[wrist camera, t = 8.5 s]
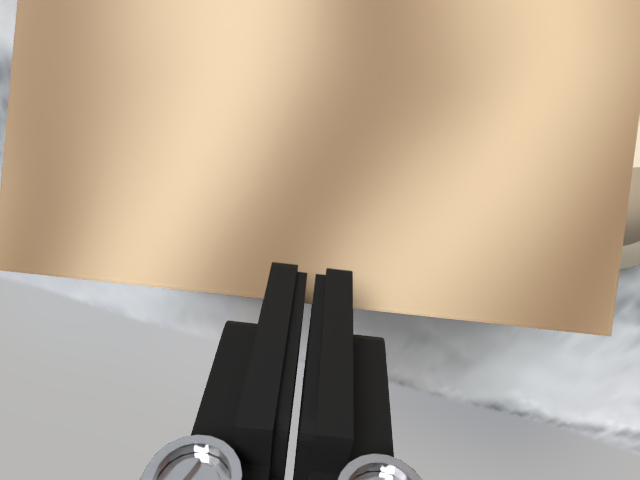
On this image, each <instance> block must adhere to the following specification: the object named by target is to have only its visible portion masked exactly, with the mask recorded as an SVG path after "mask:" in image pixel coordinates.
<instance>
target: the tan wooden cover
mask: <svg viewBox="0 0 640 480" xmlns="http://www.w3.org/2000/svg"><path fill="white" fill-rule="evenodd" d="M639 115H640V0H18V2H17V13H16V24H15V35H14V46H13V57H12V68H11V79H10V90H9V101H8V112H7V123H6V134H5V145H4V156H3V167H2V178H1V189H0V270H2V271H11V272H21V273H30V274H39V275H48V276H58V277H67V278H76V279H85V280H95V281H104V282H113V283H122V284H132V285H141V286H150V287H159V288H169V289H178V290H187V291H196V292H206V293H215V294H224V295H233V296H243V297H252V298H261V299H264V295H265V291H266V286H267V282H268V277H269V273H270V269H271V265H272V262H277V263H286V264H295V265H298V272H304V273H307V282H306V291H305V301H304V303H307V304H312V301H313V293H314V284H315V276H316V274H322V275H326V269H327V268H331V269H340V270H349V271H352V272H353V308H354V309H363V310H372V311H381V312H391V313H400V314H409V315H419V316H428V317H437V318H446V319H456V320H465V321H474V322H483V323H493V324H502V325H511V326H520V327H530V328H539V329H548V330H557V331H567V332H576V333H585V334H594V335H604V336H611V333H612V325H613V317H614V310H615V302H616V294H617V286H618V279H619V271H620V263H621V255H622V247H623V240H624V232H625V224H626V216H627V209H628V201H629V193H630V185H631V177H632V170H633V162H634V154H635V146H636V139H637V131H638V123H639Z"/></svg>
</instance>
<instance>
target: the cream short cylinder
mask: <svg viewBox="0 0 640 480" xmlns="http://www.w3.org/2000/svg"><path fill="white" fill-rule="evenodd" d="M637 265H640V115H639V123H638V131H637V139H636V146H635V154H634V162H633V170H632V177H631V185H630V193H629V201H628V209H627V216H626V224H625V232H624V240H623V247H622V255H621V263H620V270H622V269H626V268H631V267H634V266H637Z"/></svg>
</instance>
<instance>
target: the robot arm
mask: <svg viewBox="0 0 640 480" xmlns="http://www.w3.org/2000/svg"><path fill="white" fill-rule="evenodd" d="M306 282H307V273H304V272H298V265H295V264H286V263H277V262H272V265H271V269H270V273H269V277H268V282H267V286H266V291H265V295H264V300H263V304H262V308H261V313H260V317H259V322H258V324H253V323H244V322H235V321H227V322H226V324H225V326H224V329H223V332H222V336H221V339H220V342H219V346H218V349H217V352H216V355H215V359H214V362H213V365H212V369H211V372H210V375H209V378H208V381H207V385H206V388H205V391H204V395H203V398H202V401H201V405H200V408H199V411H198V414H197V417H196V421H195V424H194V427H193V430H192V434H191V436H186V437H182V438H179V439H177V440H175V441H173V442H170V443H168V444H167V445H166V446H165V447H163V448H162V449H161V450H160V451H158V452H157V453H156V454H155V455H154V457H153V458H152V460H151V461H150V462H149V464H148V465H147V467H146V469H145V470H144V472H143V474H142V476H141V478H140V480H284V476H285V468H286V459H287V451H288V442H289V434H290V425H291V417H292V409H293V399H294V391H295V383H296V374H297V366H298V356H299V347H300V338H301V329H302V319H303V310H304V301H305V291H306ZM293 480H422V479H421V478H420V476H419V475H418V474H417V473H416V471H415V470H414V469H413V468H411V467H410V466H408V465H407V464H406V463H404V462H403V461H401V460H399V459H396V458H394V453H393V440H392V428H391V415H390V403H389V390H388V377H387V364H386V352H385V342H384V339H383V338H380V337H371V336H362V335H353V272H352V271H349V270H340V269H331V268H327V269H326V275H322V274H316V276H315V284H314V293H313V301H312V309H311V318H310V326H309V335H308V343H307V352H306V360H305V369H304V378H303V387H302V397H301V407H300V417H299V427H298V436H297V446H296V456H295V466H294V476H293Z"/></svg>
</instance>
